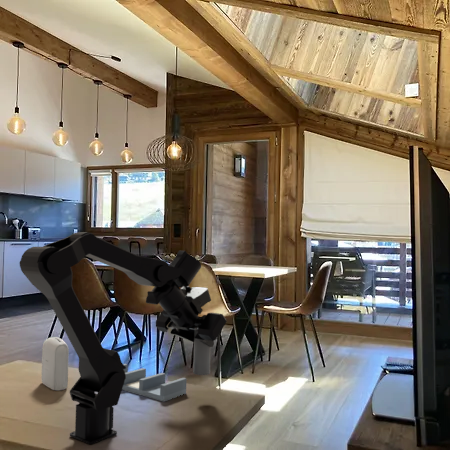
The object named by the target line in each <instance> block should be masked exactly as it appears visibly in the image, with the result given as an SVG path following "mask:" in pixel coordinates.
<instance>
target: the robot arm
mask: <svg viewBox="0 0 450 450" xmlns="http://www.w3.org/2000/svg"><path fill="white" fill-rule="evenodd" d="M85 257H88V258H90V259H91V260H95V261H97V262H100V263H102V264H104V265H106V266H109V267H112V268H115V269H116V270H118V271H121V272H123V273H124V274H125V275H126V276H127V277H128V278H129V279H130V280H132V281H133V282H135V283H136V284H137V285H139V286H145V287H147V286H148V287H153V288H152V290H148V291H147V294H146V295H147V296H146V299H145V303H146V304H149V305H156V306H157V305H160V307H161V308H162V311H161V313H160V314H159V316H158V317H157V318H156V320H155V327H156V328H157V329H158V331H159V332H163V333H168V331H169V329H171V330H170V335H173V336H176V337H179V338H180V339H184V340H186V341H188V342H191V343H193V344H194V330H196V329H198V333H197V335H196V336H195V339H196V340H198V341H200V342H202V343H204V344H206V345H208V346H210V347H211V348H213V347H214V345H215V342H214V341H216V340H217V338H218V337H219V335H220V333H221V332H222V330H223V328H224V326H225V325H226V323H227V319H226V317H225V315H224V314H223V313H217V312H207V313H206V314H202V313H203V311H204V310H203V307H204V306H206V305H207V304H208V303H210V302H211V301H212V299H211V295H210V294H211V293H210V291H209V288H208V287H200V286H195V287H190V284H191V283H192V282H193V280H194V279H195V277H196V276H197V274H198V273H199V272H200V271H201V268H202V264H201V262H200V260H199V259H197V258H195V256H193V255H191V254H189V253H188V252H187V251H186V250H178V252H177V253H176V256H174V258H173V259H172V261H171V263H170V264H169V263H168V262H167V261H165V260H164V259H163V260H162V259H159V258H152V257H148V256H141V255H137V254H135V253H132V252H131V251H129V250H126V249H124V248H122V247H119V246H117V245H115V244H113V243H110V242H108V241H107V240H104V239H102V238H100V237H97V236H96V235H94V233H92V232H86V231H85V232H84V231H83V232H80V231H79V232H73V233H72V234H71V235H69V236H67V237H64V238H60V239H59V240H56V241H53V242H49V243H47V244H45V245H43V246H32V247H28V248H27V249H26V250H25V251H24V252H23V254H22V255H21V258H20V261H19V268H20V271H21V272H22V274H23V275H24V276H25V277H26V279H27V280H28V281H29V282H30V283H31V285H32V286H33V287H34V288H36V289H37V290H38V291H39V292H40V293H41V294H42V295H44V296H45V297H46V299H47V300H48V302H49V305H50V306H51V308H52V309H53V312H54V314H55V315H56V317H57V319H58V321H59V323H60V325H61V327H62V328H63V330H64V332H65V335H66V336H67V338H68V340H69V342H70V343H71V345H72V347H73V349H74V351H75V353H76V355H77V357H78V373H79V376H80V377H79V378H78V379H77V380H76V382H75V384H74V385H73V386H72V387H71V389H70V390H69V394H70V398H71V401H73V402H77V404H75V424H74V425H75V426H74V427H75V428H74V430H75V431H72V432H70V433H69V436H70V437H71V438H74V439H76V440H79V441H81V442H83V443H86V444H88V445H92V444H95V443H97V442H100V441H103V440H105V439H108V438H110V437H113V436H116V435H117V434H118V431H117V430H114V429H113V428H114V408H115V406H118V404H119V401H120V398H121V394H122V391H123V390H122V388H123V385H124V381H125V379H126V374H125V371H124V369H126V367H125V366H124V365H123V364H124V363H123V362H122V358H121V356H120V354H119V352H118V351H117V350H113V349H108V348H104V347H103V346H102V343H101V342H100V339H99V338H98V335H97V333H96V332H95V330H94V328H93V326H92V324H91V321H90V319H89V317H88V316H87V314H86V312H85V310H84V309H83V306H82V303H81V302H80V300H79V298H78V296H77V294H76V292H75V290H74V288H73V271H72V267H73V266H76V264H78V263H80V262H81V261H82V260H83V259H84V258H85ZM201 314H202V316H199V315H201Z"/></svg>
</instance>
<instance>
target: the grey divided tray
mask: <svg viewBox="0 0 450 450" xmlns="http://www.w3.org/2000/svg"><path fill="white" fill-rule="evenodd" d="M122 364H123V365H124V366H125V367H126V369H124V371H125V374H126V379H125V381H124V385H123V388H122V391H125V392H129V393H133V394H135V395H140V396H143V397H146V398H149V399H152V400H156V401H160V402H167V401H169V400H173V399H175V398H177V396H178V397H181V396H183V394H184V395H186V394H187V378H186V377H181V378H178V379H175V380H171V381H169V382H166V373H165V372H160V373H156V374H154V375H149V376H147V375H146V374H147V369H146V368H144V367H142V368H138V369H135V370H130V371H128V370H129V369H128V367H129V365H128V364H127V363H122ZM180 395H181V396H180ZM172 398H173V399H172Z"/></svg>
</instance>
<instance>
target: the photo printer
mask: <svg viewBox="0 0 450 450" xmlns="http://www.w3.org/2000/svg"><path fill="white" fill-rule="evenodd" d="M41 350H42V352H41V383H42V384H43V385H44V386H46V387H47V388H49V389H51V390H53V391H63V390H66V389H67V388H68V387H69V386H68V385H69V384H68V383H69V355H70V353H69V350H70V349H69V346H68V344H67V343H66V342H65V340H63V339H62V338H60V337H58V336H53V337H48V338H46V339H45V340H44V341H43V344H42V349H41Z"/></svg>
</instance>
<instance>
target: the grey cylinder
mask: <svg viewBox="0 0 450 450" xmlns="http://www.w3.org/2000/svg"><path fill="white" fill-rule="evenodd" d="M197 333H198V329H196V330H194V343H193V371H192V372H193V374H194V375H197V376H205V375H209V374H211V349H212V347H210V346H208V345H206V344H204V343H202V342H200V341H198V340H196V339H195V336H196V335H197Z"/></svg>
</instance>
